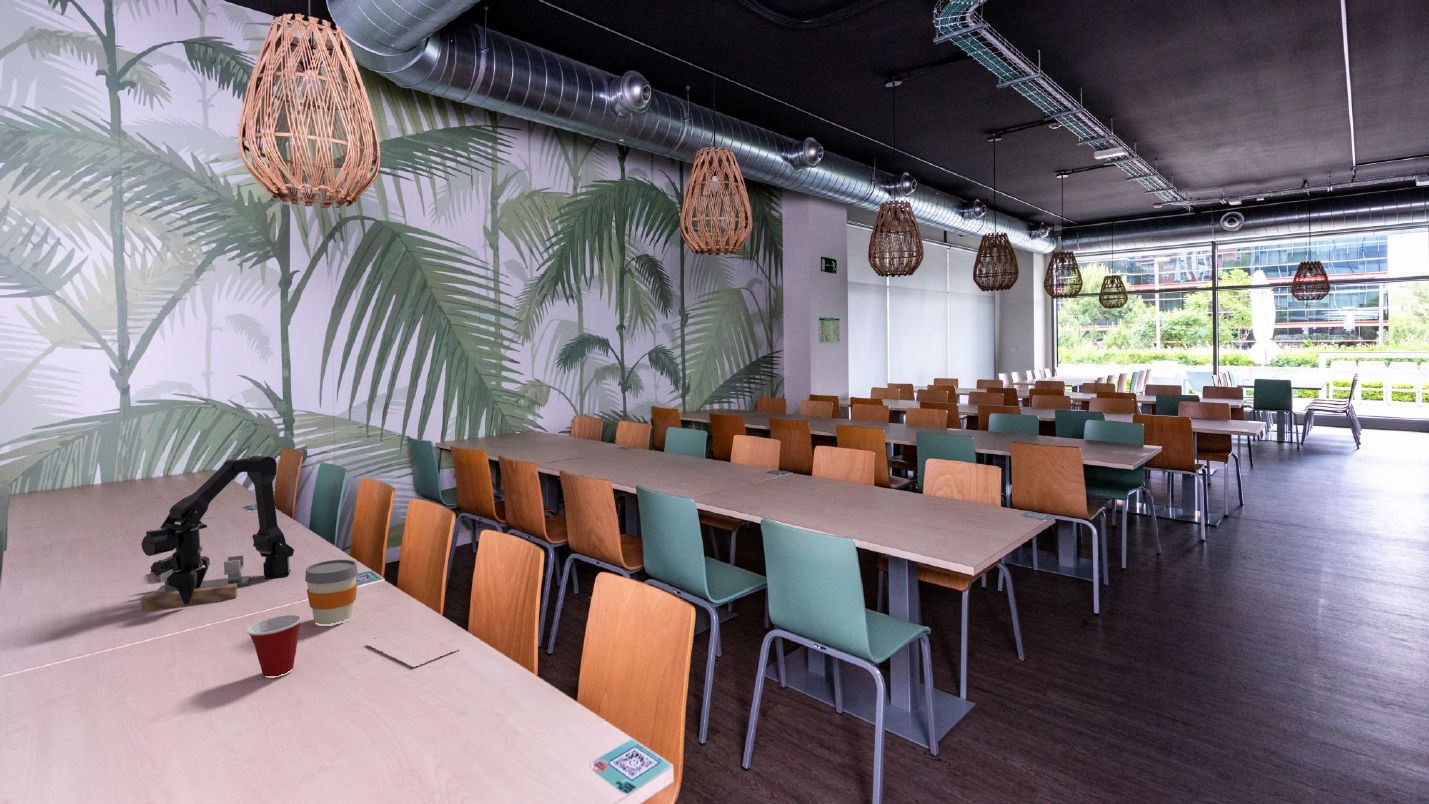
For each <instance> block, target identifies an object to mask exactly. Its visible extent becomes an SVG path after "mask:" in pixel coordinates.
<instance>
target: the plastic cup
mask: <svg viewBox="0 0 1429 804" xmlns="http://www.w3.org/2000/svg"><path fill="white" fill-rule="evenodd" d="M302 621H303V617H302V615H300V614H295V613H294V614H284V615H277V616H273V617H270V618H266V619H262V620H260V621H257V622H255V623H253V624H252V625H250V626H248V628H246V629H245V631H246V634H247V635H249V636H250V638H251V640H252V643H253V645H254V649H255V652H256V656H257V659H258V663H259V665H260V669H261V674H262V675H264V676H279V675H281V674H285V673H287V672H288V671H290V670H291V669H294V667H295V657H296V654H297V646H298V638H299V633H300V625H301V622H302ZM264 676H263V677H264Z"/></svg>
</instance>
